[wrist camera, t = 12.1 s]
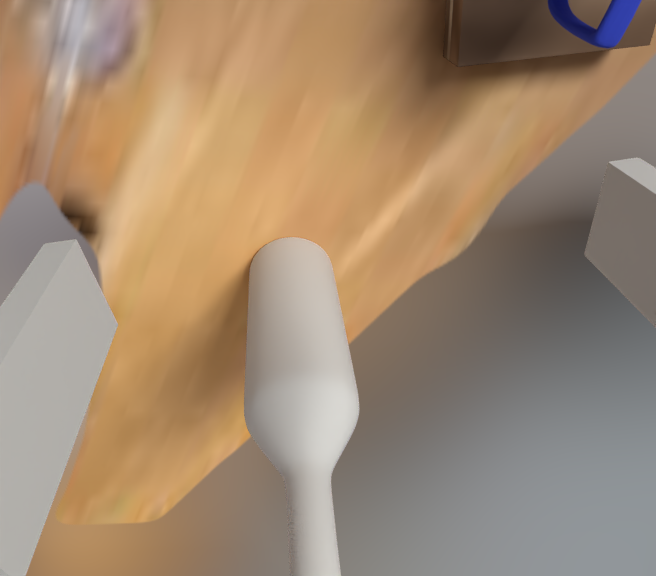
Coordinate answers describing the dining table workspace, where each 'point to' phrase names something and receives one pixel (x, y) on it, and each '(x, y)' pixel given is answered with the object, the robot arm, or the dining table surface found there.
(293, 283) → the bottle
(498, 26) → the board
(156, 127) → the dining table surface
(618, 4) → the mug
